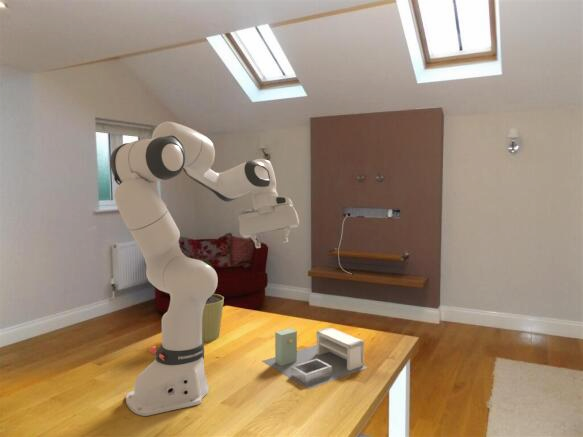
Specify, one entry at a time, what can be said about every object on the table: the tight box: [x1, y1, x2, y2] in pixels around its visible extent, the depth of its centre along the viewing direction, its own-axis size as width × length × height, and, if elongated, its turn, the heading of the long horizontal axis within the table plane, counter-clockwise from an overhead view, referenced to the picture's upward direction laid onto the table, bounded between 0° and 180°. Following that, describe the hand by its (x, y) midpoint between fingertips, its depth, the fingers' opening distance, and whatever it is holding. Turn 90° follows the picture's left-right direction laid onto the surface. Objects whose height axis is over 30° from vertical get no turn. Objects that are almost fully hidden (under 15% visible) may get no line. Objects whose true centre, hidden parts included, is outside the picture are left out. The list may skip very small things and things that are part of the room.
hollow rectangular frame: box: [291, 359, 332, 385], centre depth 138 cm, size 10×7×3 cm
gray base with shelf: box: [262, 327, 369, 390], centre depth 146 cm, size 24×24×9 cm
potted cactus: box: [200, 259, 225, 343], centre depth 172 cm, size 15×15×30 cm
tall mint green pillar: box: [274, 327, 298, 366], centre depth 148 cm, size 6×4×10 cm
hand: (271, 244), depth 152 cm, fingers open, 8 cm apart
